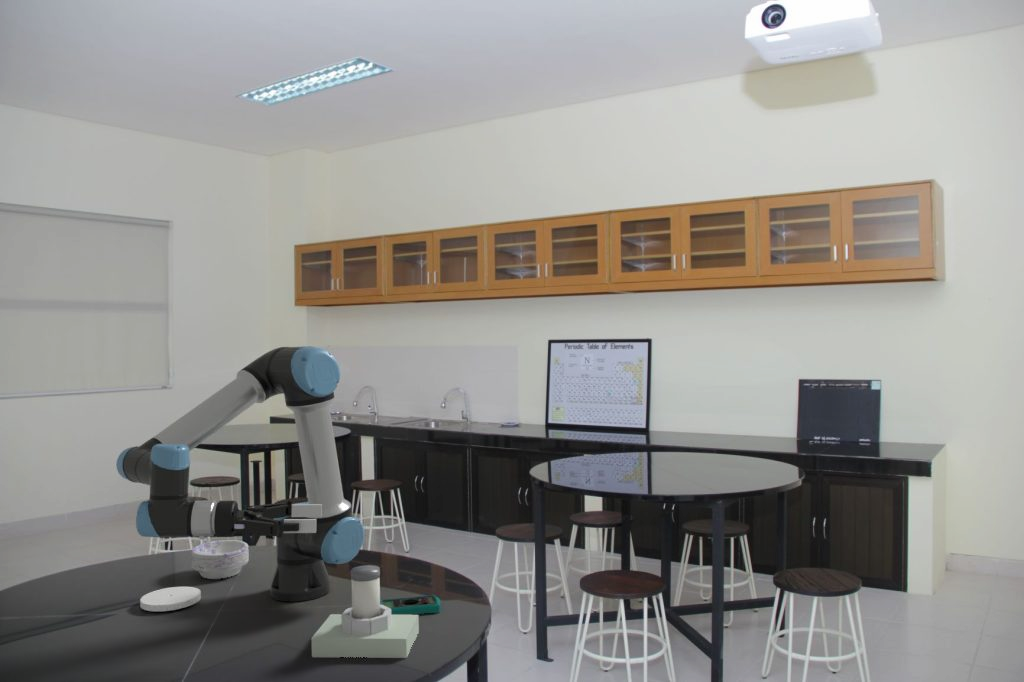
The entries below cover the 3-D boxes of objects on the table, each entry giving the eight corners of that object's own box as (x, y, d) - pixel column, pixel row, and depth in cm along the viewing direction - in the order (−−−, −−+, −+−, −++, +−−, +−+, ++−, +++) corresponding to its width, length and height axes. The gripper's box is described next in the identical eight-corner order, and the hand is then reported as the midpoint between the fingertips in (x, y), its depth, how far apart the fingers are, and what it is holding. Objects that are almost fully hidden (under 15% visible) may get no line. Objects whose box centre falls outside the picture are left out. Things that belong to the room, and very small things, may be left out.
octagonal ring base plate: (331, 631, 182) (330, 601, 182) (418, 632, 181) (418, 601, 181) (311, 657, 168) (311, 623, 168) (406, 658, 167) (405, 624, 167)
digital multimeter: (442, 614, 193) (442, 602, 193) (379, 621, 190) (379, 608, 190) (438, 604, 200) (437, 592, 200) (377, 610, 197) (377, 598, 197)
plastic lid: (178, 592, 212) (178, 583, 212) (212, 601, 205) (212, 591, 205) (128, 609, 201) (128, 599, 201) (163, 619, 193) (162, 609, 193)
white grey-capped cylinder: (355, 619, 178) (354, 565, 177) (383, 619, 177) (382, 565, 177) (348, 630, 172) (347, 573, 171) (377, 629, 171) (376, 573, 171)
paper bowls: (238, 582, 219) (237, 553, 219) (182, 583, 219) (181, 554, 219) (256, 566, 234) (255, 538, 234) (204, 566, 235) (203, 539, 235)
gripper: (227, 521, 183) (323, 520, 186) (202, 553, 159) (313, 551, 162) (228, 488, 183) (324, 488, 186) (203, 515, 158) (313, 514, 162)
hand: (319, 517), depth 174 cm, fingers open, 13 cm apart
